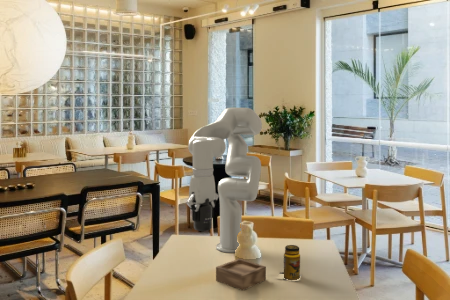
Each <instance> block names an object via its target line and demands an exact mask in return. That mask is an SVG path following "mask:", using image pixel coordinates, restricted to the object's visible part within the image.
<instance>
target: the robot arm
mask: <svg viewBox="0 0 450 300" xmlns="http://www.w3.org/2000/svg"><path fill="white" fill-rule="evenodd" d="M261 119H262V118H260V116H259V115H258V113H256V111H255V110H253V109H252V108H249V107H226V108H224V110H223V111H221V113H220V114H219V115H218V117H217V118H216V120H215V121H214V122H212V123H209V124H207V125H204V126H202V127H200V128H198V129H197V130H196V131H195V132H194V133H193V134H192V135H191V137H190V139H189V141H188V146H187V147H188V151H189V153H190V154H191V155H192V176H190V181H189V188H188V199H187V200H186V202H185V203H186V205H187V206H188V208H189V209H190V211H191V219H192V220H191V221H192V222H194V221H196V222H199V211H198V209H199V206H200V204H202V203H204V202H205V200H206V199H207V198H209V201H210V203H209V204H210V205H211V206H212V219H214V218H215V217H214V210H215V209H214V208H215V206H216V203H217V201H218V199H219V243H217V244H216V245H215V246H216V250H217V251H219V252H223V253H236V252H235V250H236V249H237V247H238V246H239V243H238V242H237V235H238V233H239V232H240V231H241V232H242V227H241V228H240V223H241V224H242V218H243V217H242V216H243V215H242V208H241V205H240V203H239V201H244V202H253V201H255V200H256V198H257V197H258V192H259V186H260V180H261V173H262V161H261V159H260V158H259V156H256V155H248V144H247V142H246V141H245V139H244V138H243V136H245V135H247V136H249V135H250V136H251V135H252V136H256V135H259V134H260V132H262V126H263V123H262V120H261ZM241 135H242V136H241ZM226 139H227V142H228V149H227V153H226V160H225V166H224V167H225V168H224V169H225V173H226V174H227V175H228V176H231V177H224V178H222V179H220V181H218V184H217V192H218V193H217V192H216V182H215V176H214V158H219V157H222V156H223V155H224V154H225V152H226V142H225V140H226ZM238 177H239V178H238ZM240 177H242V178H240ZM195 205H196V207H195Z"/></svg>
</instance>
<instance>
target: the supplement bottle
mask: <svg viewBox="0 0 450 300" xmlns="http://www.w3.org/2000/svg"><path fill="white" fill-rule="evenodd" d="M209 203H210V201H209V198H207V199H206V200H205V202H204V203H202V204H200V206H199V209H198V211H199V222H196V221H193V228H194V230H195V231H198V232H199V231H201V232H203V231H204V232H206V231H210V230H212V228H213V218H212V206H211V205H210V204H209ZM195 207H196V205H195Z"/></svg>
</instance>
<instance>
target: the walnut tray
mask: <svg viewBox="0 0 450 300" xmlns="http://www.w3.org/2000/svg"><path fill="white" fill-rule="evenodd" d="M266 280H267V267H266V266H265V265H262V264H259V263H256V262H252V261H249V260H247V259H244V258H243V259H242V258H237V259H234V260H231V261H228V262H225V263H223V264H220V265H218V266H216V267H215V281H216V282H219V283H220V284H224V285H227V286H229V287H233V288H235V289H238V290H240V289H241V291H245V290H246V289H249V288H251V286H252V287H254V286H256V285H258V284H260V282H261V283H263V282H265V281H266ZM262 281H263V282H262Z"/></svg>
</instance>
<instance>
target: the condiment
mask: <svg viewBox="0 0 450 300" xmlns="http://www.w3.org/2000/svg"><path fill="white" fill-rule="evenodd" d="M300 272H301V254H300V246H298V245H296V244H295V245H294V244H289V245H288V244H287V245H286V246H285V247H284V253H283V271H279V273H278V275H279V274H284V278H285V279H288V280H297V279H299V278H300V276H301V277H302V276H303V274H301V273H300Z"/></svg>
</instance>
